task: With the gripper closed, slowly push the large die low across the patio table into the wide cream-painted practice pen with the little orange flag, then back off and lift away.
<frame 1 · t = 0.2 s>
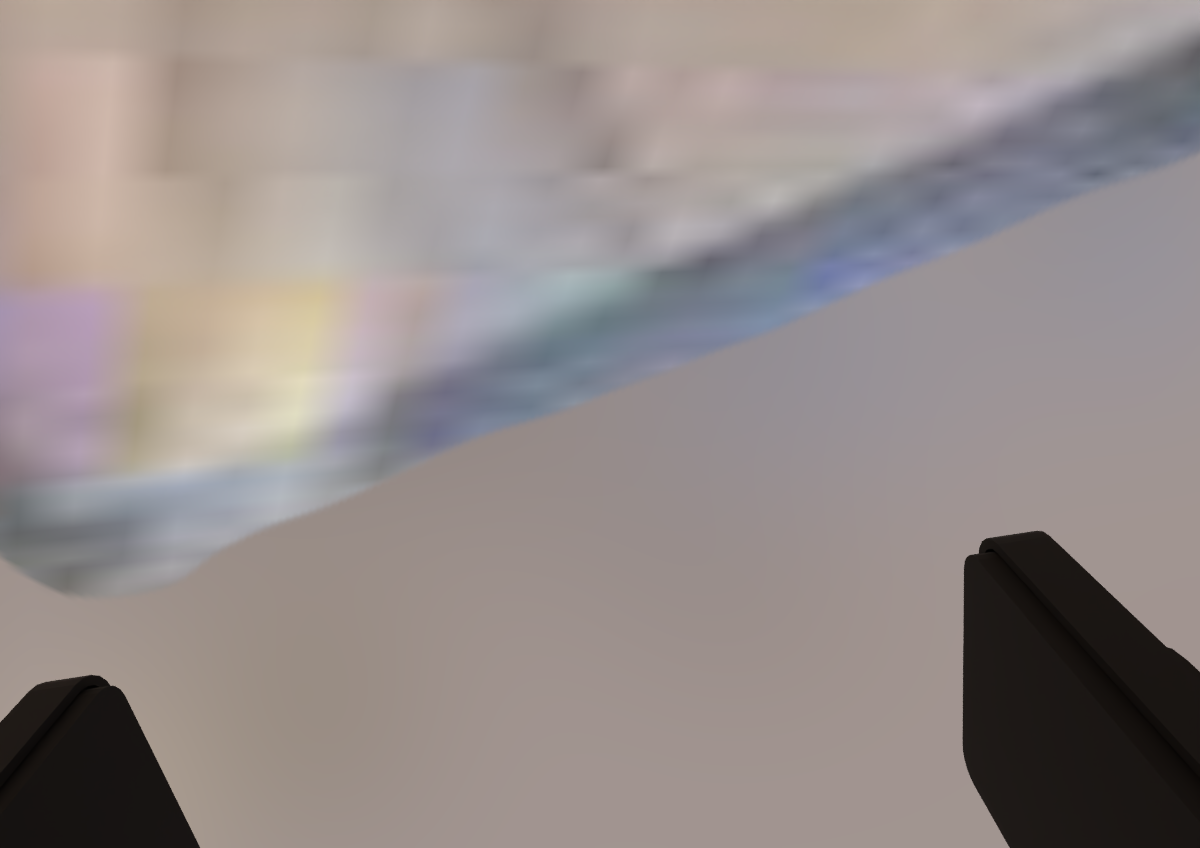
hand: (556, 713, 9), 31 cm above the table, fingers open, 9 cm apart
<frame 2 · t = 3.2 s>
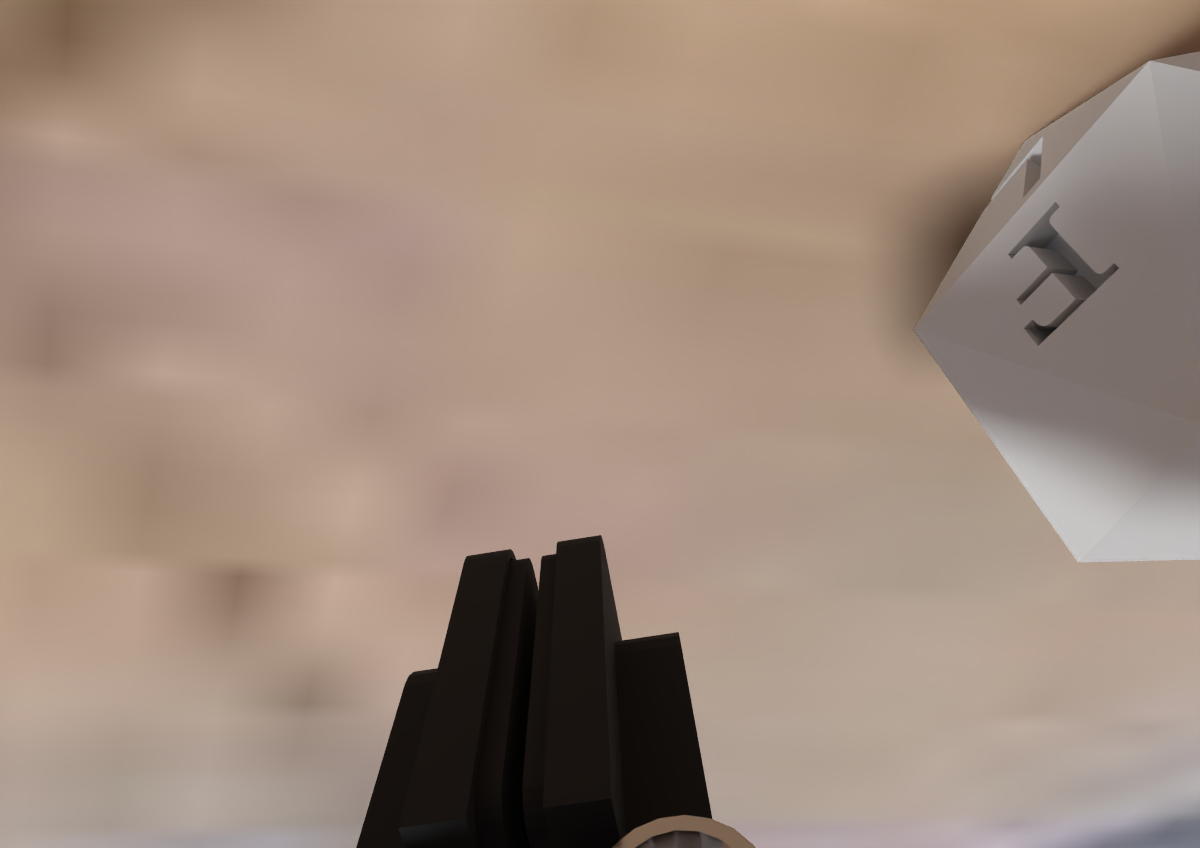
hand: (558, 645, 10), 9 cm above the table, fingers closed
die: (1078, 255, 18), on the table
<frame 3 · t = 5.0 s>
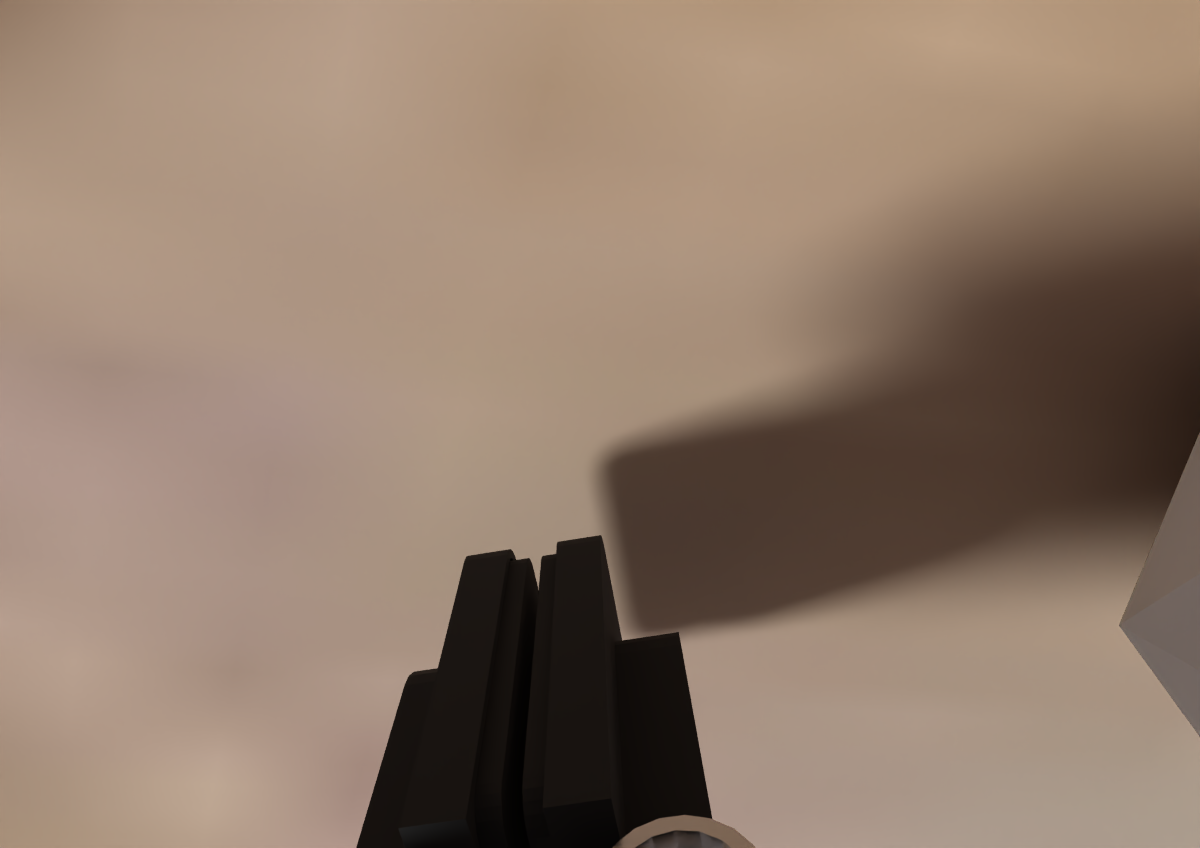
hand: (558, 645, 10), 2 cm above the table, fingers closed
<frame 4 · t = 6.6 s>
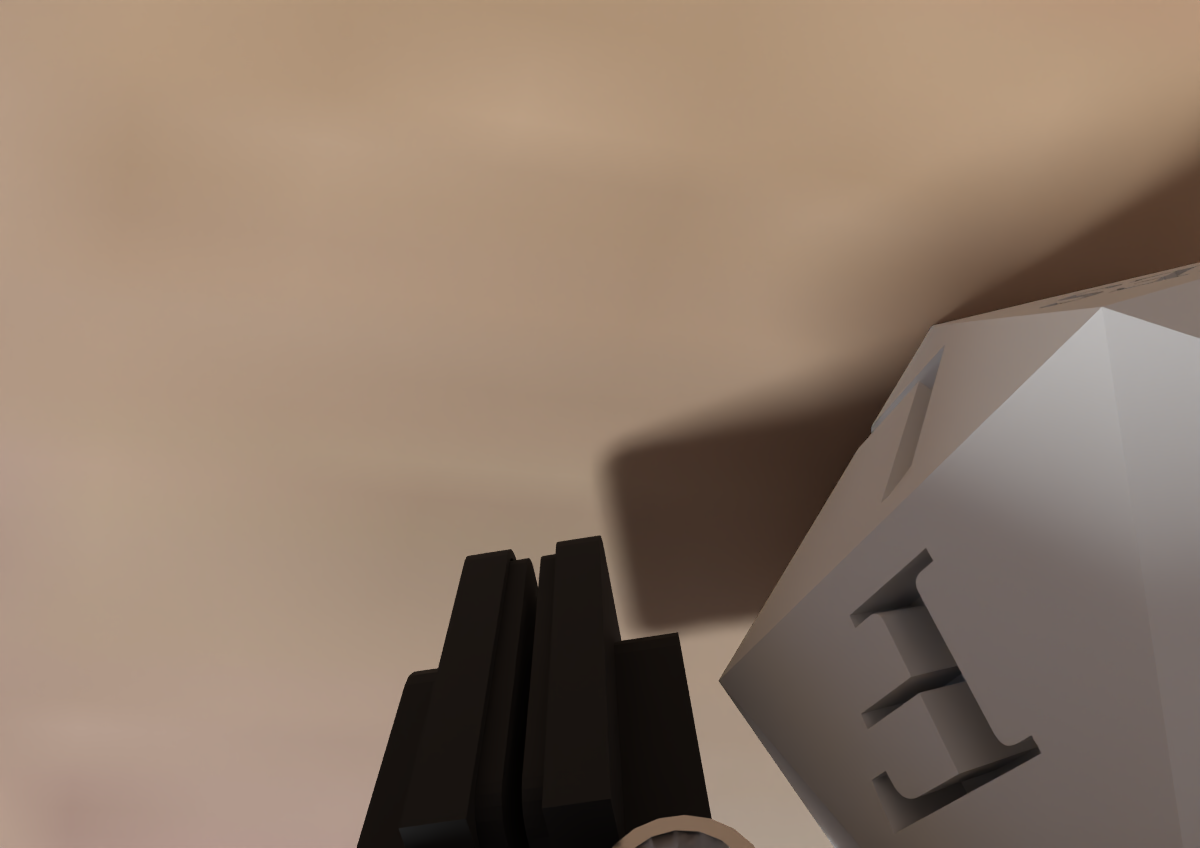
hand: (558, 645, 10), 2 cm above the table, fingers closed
die: (1027, 486, 11), on the table, touching gripper
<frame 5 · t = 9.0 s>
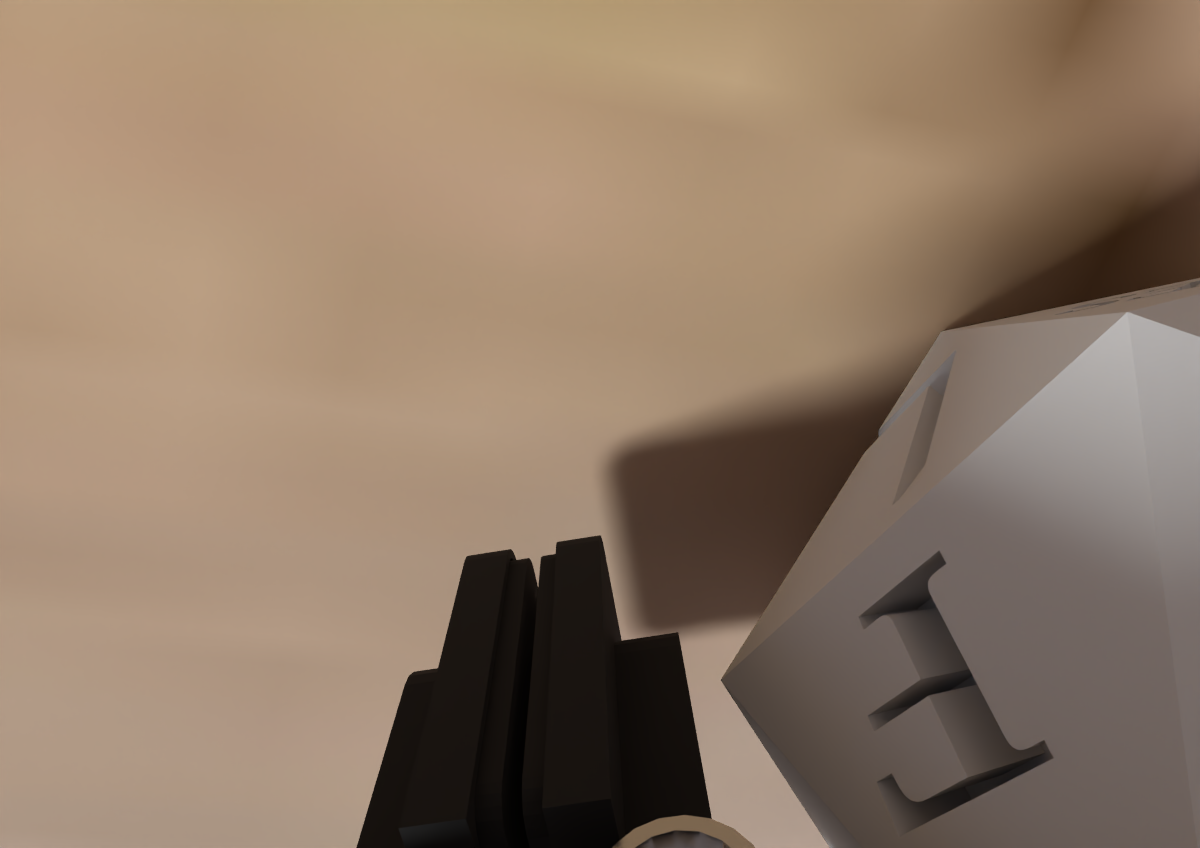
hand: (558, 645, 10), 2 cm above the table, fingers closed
die: (1029, 495, 12), on the table, touching gripper
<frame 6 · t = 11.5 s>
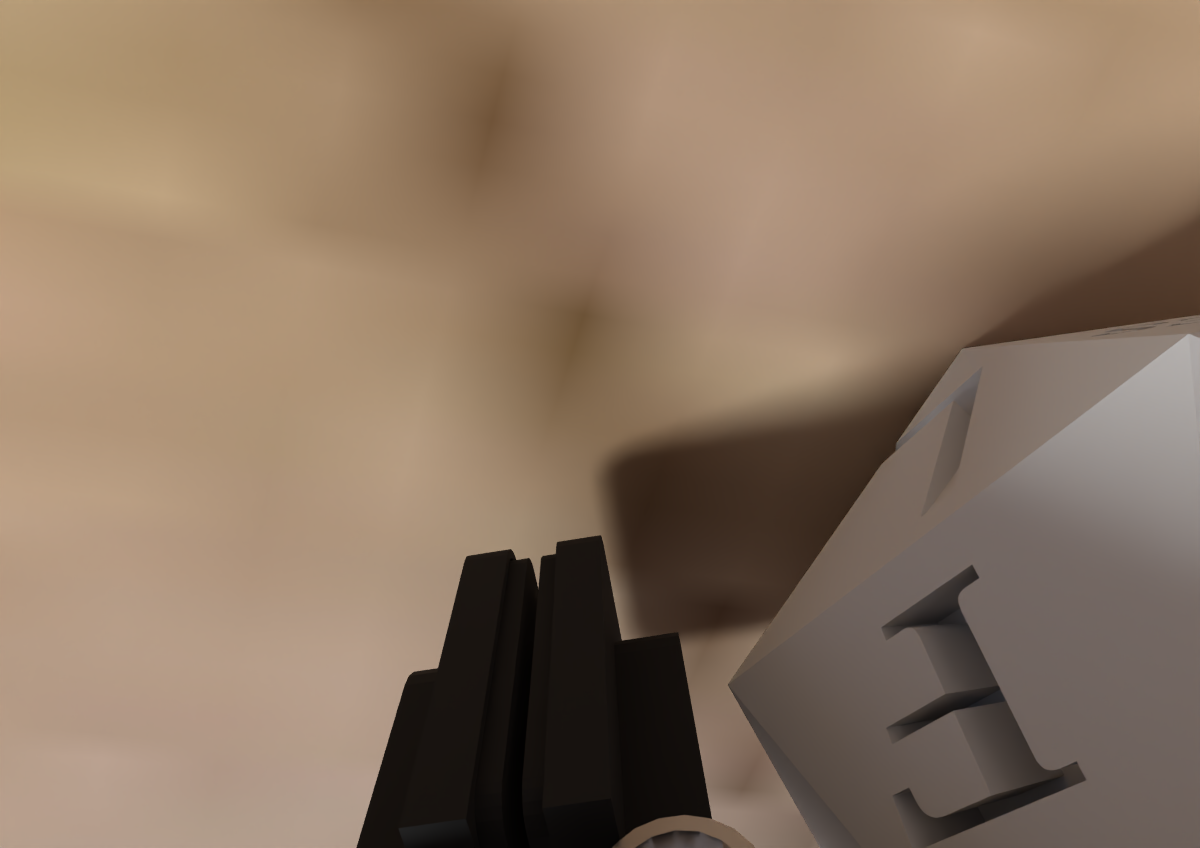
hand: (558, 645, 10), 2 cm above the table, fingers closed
die: (1035, 519, 12), on the table, touching gripper
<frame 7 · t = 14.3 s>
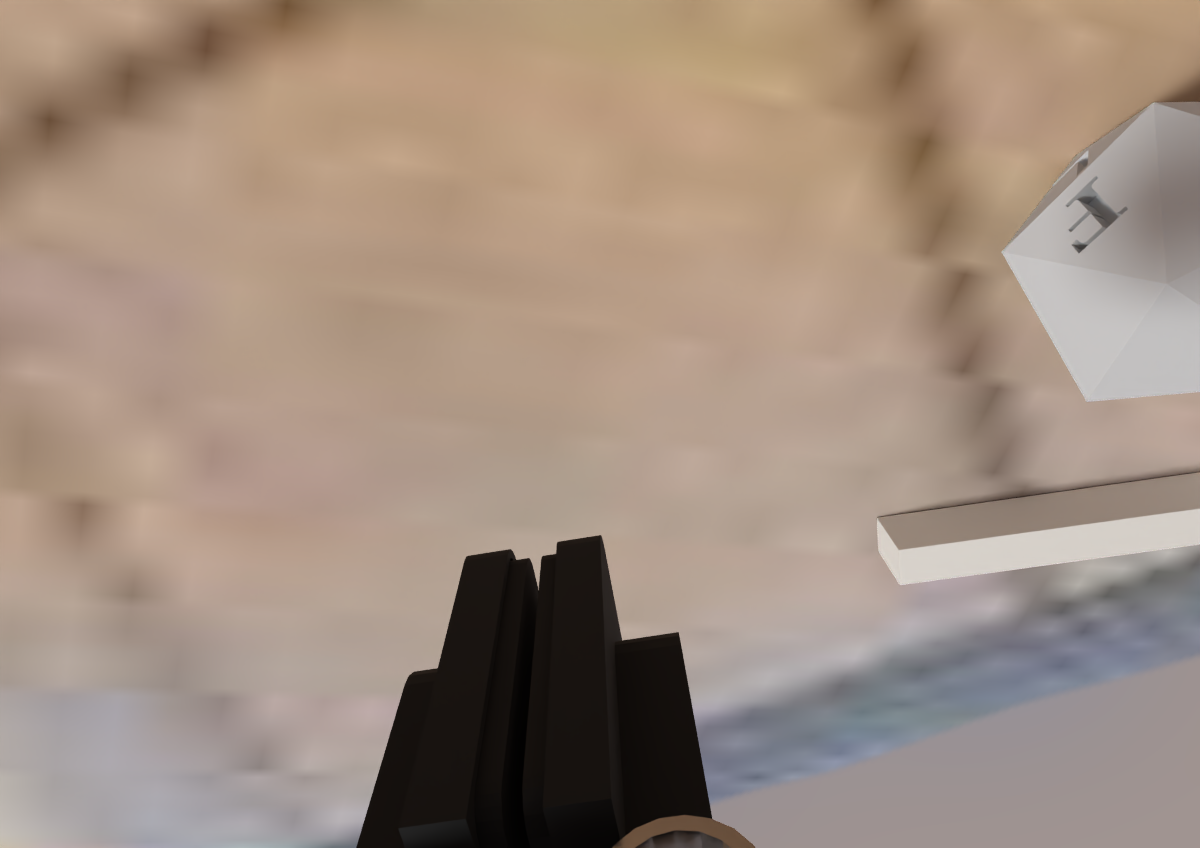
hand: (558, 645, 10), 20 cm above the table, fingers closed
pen: (1071, 232, 28), on the table
die: (1100, 234, 28), on the table
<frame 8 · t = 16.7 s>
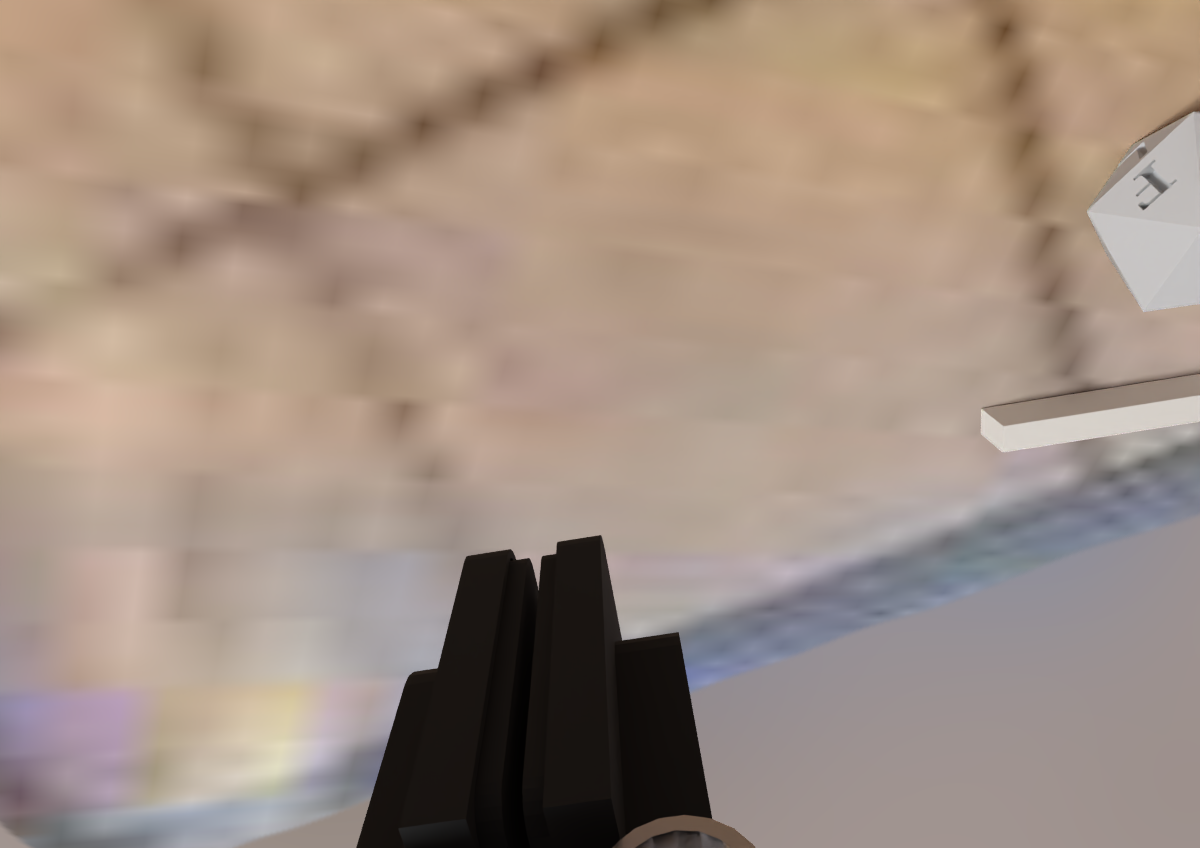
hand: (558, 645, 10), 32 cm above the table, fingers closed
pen: (1127, 198, 40), on the table
die: (1147, 200, 40), on the table
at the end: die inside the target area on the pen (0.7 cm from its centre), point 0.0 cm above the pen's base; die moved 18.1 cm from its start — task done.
